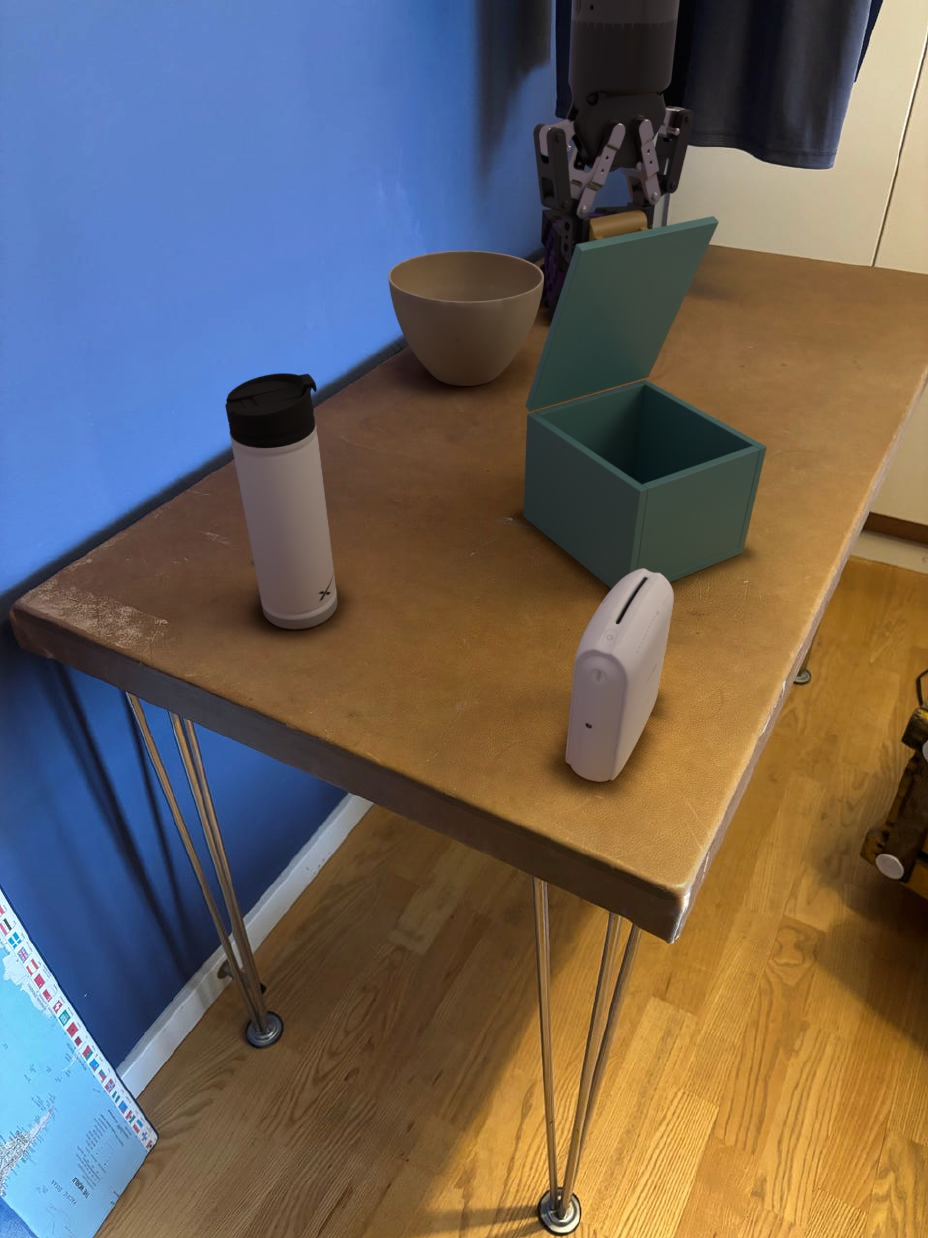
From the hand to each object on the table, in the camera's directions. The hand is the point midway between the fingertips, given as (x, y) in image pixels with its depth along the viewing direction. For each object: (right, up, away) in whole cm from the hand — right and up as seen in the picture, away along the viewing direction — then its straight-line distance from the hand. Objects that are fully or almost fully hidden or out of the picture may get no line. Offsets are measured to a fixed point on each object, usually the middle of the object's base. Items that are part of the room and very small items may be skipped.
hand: (606, 256), depth 75 cm
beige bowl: (-11, +1, +38) cm, 40 cm away
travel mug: (-25, -29, +2) cm, 39 cm away
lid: (+1, -5, +1) cm, 5 cm away
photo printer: (-1, -38, -10) cm, 39 cm away
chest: (+4, -22, +10) cm, 24 cm away
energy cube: (+6, +14, +55) cm, 57 cm away
